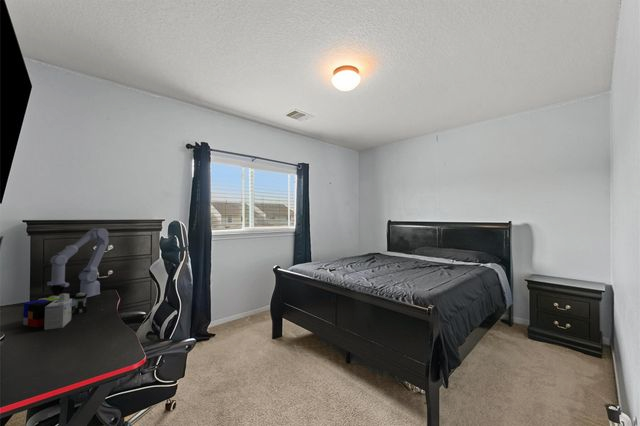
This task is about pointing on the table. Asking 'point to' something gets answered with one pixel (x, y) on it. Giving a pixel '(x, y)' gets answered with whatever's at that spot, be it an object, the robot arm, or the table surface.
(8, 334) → the table surface
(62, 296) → the grey block
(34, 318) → the puzzle toy
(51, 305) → the light bulb box
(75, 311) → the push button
